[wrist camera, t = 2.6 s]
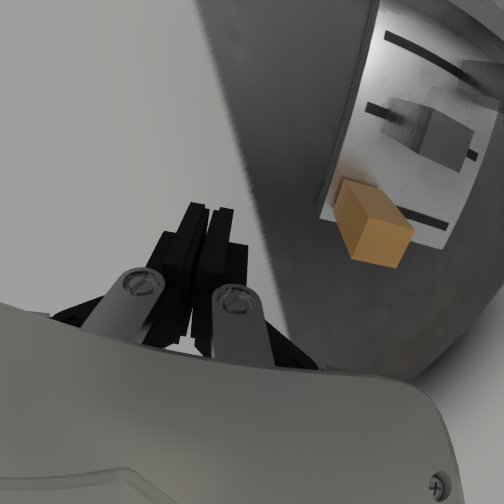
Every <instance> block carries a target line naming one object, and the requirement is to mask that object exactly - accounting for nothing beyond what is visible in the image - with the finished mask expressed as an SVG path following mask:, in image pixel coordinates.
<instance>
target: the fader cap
mask: <svg viewBox="0 0 504 504" xmlns="http://www.w3.org/2000/svg"><path fill="white" fill-rule="evenodd" d="M333 215H334V217H335V220H336V222H337V225H338V227H339V230H340V232H341V234H342V237H343V240H344V242H345V245H346V247H347V250H348V252H349V255H350V258H351V259H354V260H359V261H363V262H368V263H373V264H378V265H382V266H387V267H392V268H396V267H397V266H398V264H399V262H400V260H401V258H402V256H403V254H404V252H405V250H406V248H407V246H408V244H409V242H410V240H411V238H412V236H413V234H414V232H415V230H414V228H413V227H412V226H411V225H410V223H409V222H408V221H407V219H406V218H405V217H404V216H403V214H402V213H401V212H400V211H399V209H398V208H397V207H396V206H395V204H394V203H393V202H392V201H391V200H390V198H389V197H388V196H387V195H386V194H385V193H384V191H383V190H380V189H377V188H373V187H370V186H367V185H363V184H360V183H356V182H353V181H349V180H346V179H344V181H343V184H342V187H341V190H340V193H339V195H338V198H337V201H336V204H335V207H334V210H333Z"/></svg>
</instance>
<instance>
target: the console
mask: <svg viewBox="0 0 504 504" xmlns="http://www.w3.org/2000/svg"><path fill="white" fill-rule="evenodd" d="M498 112H500V113H503V114H504V11H503V10H502V9H501V8H499V7H498V6H497V5H496V4H495V3H493V2H492V1H491V0H372V3H371V8H370V12H369V17H368V21H367V25H366V30H365V34H364V38H363V42H362V47H361V51H360V55H359V59H358V63H357V67H356V71H355V74H354V78H353V82H352V86H351V90H350V93H349V97H348V101H347V104H346V108H345V112H344V115H343V119H342V122H341V126H340V129H339V133H338V136H337V139H336V143H335V146H334V150H333V153H332V156H331V160H330V163H329V166H328V169H327V173H326V176H325V179H324V182H323V185H322V189H321V192H320V195H319V198H318V201H317V204H316V209H317V212H318V216H319V218H320V219H325V220H329V221H333V222H336V220H335V217H334V215H333V210H334V207H335V204H336V201H337V198H338V195H339V193H340V190H341V187H342V184H343V181H344V179H346V180H349V181H353V182H356V183H360V184H363V185H367V186H370V187H373V188H377V189H380V190H383V191H384V193H385V194H386V195H387V196H388V197H389V198H390V200H391V201H392V202H393V203H394V204H395V206H396V207H397V208H398V209H399V211H400V212H401V213H402V214H403V216H404V217H405V218H406V219H407V221H408V222H409V223H410V225H411V226H412V227H413V228H414V230H415V232H414V234H413V236H412V238H411V240H410V241H412V242H416V243H419V244H423V245H427V246H430V247H434V248H437V249H441V250H442V249H443V247H444V246H445V244H446V242H447V240H448V238H449V236H450V234H451V232H452V230H453V228H454V226H455V224H456V222H457V220H458V218H459V216H460V214H461V211H462V209H463V207H464V205H465V203H466V200H467V198H468V196H469V193H470V191H471V189H472V186H473V184H474V181H475V179H476V176H477V174H478V171H479V169H480V166H481V163H482V161H483V158H484V155H485V152H486V149H487V147H488V144H489V141H490V137H491V134H492V131H493V128H494V124H495V121H496V117H497V114H498Z"/></svg>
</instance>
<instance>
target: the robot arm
mask: <svg viewBox="0 0 504 504" xmlns="http://www.w3.org/2000/svg"><path fill="white" fill-rule="evenodd" d="M209 211H210V210H209V209H206V208H205V205H204V204H199V203H193V202H191V203H190V205H189V207H188V209H187V211H186V213H185V215H184V217H183V219H182V221H181V224H180V226H179V228H178V230H177V232H176V233H173V232H168V231H164V232H163V233H162V235H161V237H160V239H159V241H158V243H157V245H156V247H155V249H154V251H153V253H152V255H151V257H150V259H149V261H148V263H147V265H146V267H143V268H133V269H130V270H128V271H126V272H124V273H123V274H122V275H121V276H120V277H119V278H118V280H117V281H116V282H115V283H114V284H113V286H112V287H111V288H110V290H109V291H108V292H107V293H106V295H104V296H101V297H98V298H95V299H93V300H90V301H87V302H85V303H82V304H79V305H77V306H74V307H71V308H68V309H66V310H63V311H61V312H59V313H57V314H55V315H54V316H53V317H50V314H49V313H41V312H31V311H25V310H22V309H19V308H16V307H13V306H10V305H7V304H4V303H1V302H0V504H465V502H464V495H463V490H462V484H461V478H460V474H459V469H458V464H457V460H456V456H455V453H454V449H453V446H452V442H451V439H450V436H449V433H448V430H447V427H446V425H445V422H444V420H443V417H442V415H441V413H440V411H439V409H438V407H437V405H436V404H435V402H434V401H433V399H432V398H431V397H430V396H429V395H428V394H427V393H426V392H424V391H423V390H421V389H419V388H417V387H415V386H413V385H411V384H408V383H405V382H403V381H400V380H396V379H392V378H387V377H383V376H377V375H370V374H359V373H354V372H350V371H346V370H342V369H338V368H334V367H330V366H326V365H325V366H324V368H320V367H317V365H316V363H315V362H314V361H313V360H312V359H311V358H310V357H309V356H307V355H306V354H305V353H304V352H303V351H301V350H300V349H299V348H298V347H297V346H295V345H294V344H293V343H292V342H291V341H290V340H288V339H287V338H286V337H285V336H284V335H282V334H281V333H280V332H279V331H278V330H277V329H275V328H274V327H273V326H272V325H271V324H270V323H268V322H267V321H266V320H265V317H264V313H263V308H262V304H261V300H260V298H259V296H258V295H257V294H256V293H255V292H254V291H253V290H252V289H250V288H248V287H246V284H247V265H248V245H242V244H237V243H231V242H229V237H230V231H231V225H232V218H233V212H234V210H233V209H228V208H222V207H220V209H219V211H218V210H214V211H213V214H212V218H211V221H210V224H209V228H208V231H207V225H208V218H209ZM206 233H207V235H206ZM192 308H193V312H192ZM191 312H192V324H191V338H195V344H194V346H195V347H196V348H197V350H198V351H200V353H201V354H202V355H203V356H198V355H192V354H187V353H182V352H176V351H171V350H166V347H167V346H169V345H171V344H173V343H174V344H179V340H180V336H186V334H187V330H188V325H189V321H190V316H191Z"/></svg>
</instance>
